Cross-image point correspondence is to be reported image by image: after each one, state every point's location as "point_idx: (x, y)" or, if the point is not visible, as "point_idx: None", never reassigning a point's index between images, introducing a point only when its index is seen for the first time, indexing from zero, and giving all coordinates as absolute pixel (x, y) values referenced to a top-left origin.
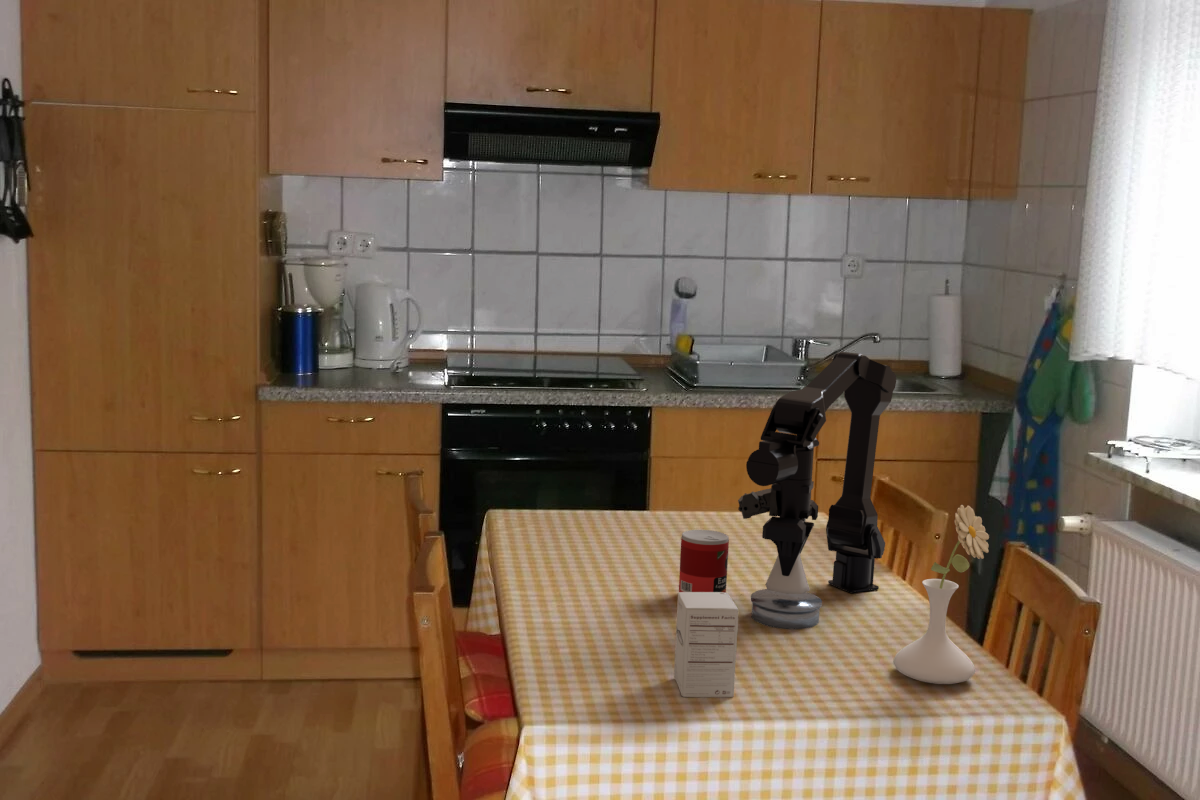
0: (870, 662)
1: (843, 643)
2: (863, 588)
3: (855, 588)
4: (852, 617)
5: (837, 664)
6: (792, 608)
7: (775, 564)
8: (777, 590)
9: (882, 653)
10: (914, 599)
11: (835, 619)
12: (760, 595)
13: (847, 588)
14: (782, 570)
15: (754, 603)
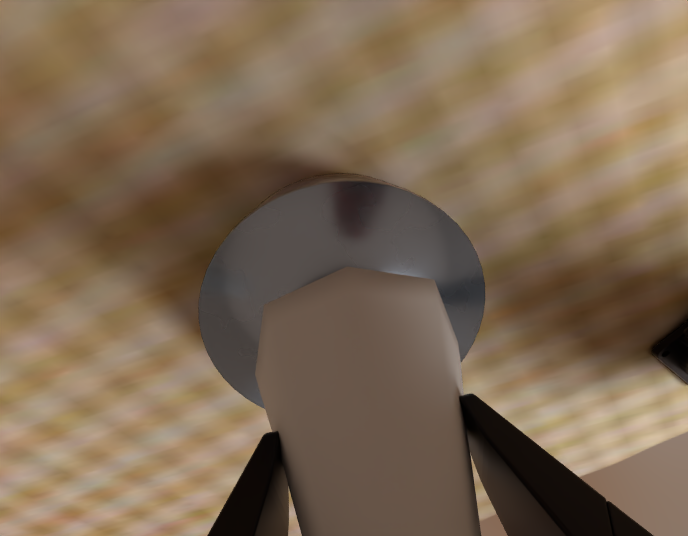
0: (151, 515)
1: (231, 452)
2: (681, 372)
3: (678, 358)
4: None
5: (76, 485)
6: (243, 379)
7: (331, 413)
8: (259, 355)
9: None
10: (628, 451)
11: None
12: (333, 226)
13: (676, 343)
14: (251, 465)
15: (228, 234)
